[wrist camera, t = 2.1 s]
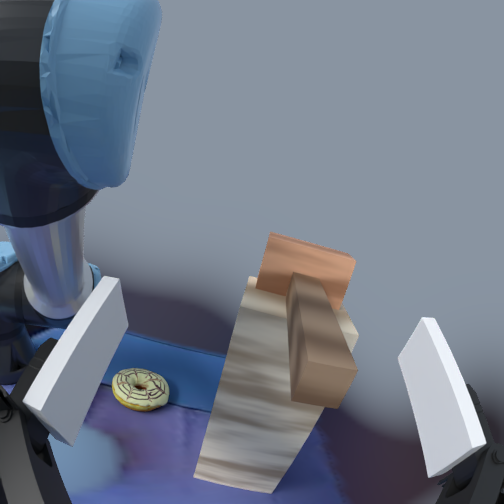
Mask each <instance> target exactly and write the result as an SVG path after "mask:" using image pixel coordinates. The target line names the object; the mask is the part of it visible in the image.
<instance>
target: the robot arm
mask: <svg viewBox="0 0 504 504" xmlns="http://www.w3.org/2000/svg"><path fill="white" fill-rule="evenodd" d="M161 20H162V11H161V7H160V4H159V2H158V0H0V225H2V226H4V228H5V231H6V233H7V235H8V238H9V240H10V242H0V384H13V383H17V384H16V385H15V387H14V389H13V390H12V392H11V394H10V395H9V394H8V393H7V392H6V390H5V389H4V388H3V387H2V386H1V385H0V504H72V503H71V500H70V498H69V496H68V493H67V491H66V488H65V486H64V483H63V481H62V478H61V476H60V473H59V470H58V467H57V464H56V461H55V458H54V455H53V452H52V449H51V446H50V442H49V441H48V439H47V438H48V435H49V433H50V434H51V435H52V436H53V437H54V438H55V439H57V440H59V441H61V442H63V443H65V444H67V445H70V446H72V447H73V445H74V442H75V440H76V437H77V435H78V433H79V430H80V428H81V425H82V423H83V421H84V418H85V416H86V414H87V411H88V409H89V407H90V405H91V402H92V400H93V398H94V396H95V393H96V391H97V389H98V387H99V385H100V383H101V380H102V378H103V376H104V374H105V372H106V370H107V368H108V366H109V364H110V362H111V359H112V357H113V355H114V353H115V351H116V349H117V347H118V345H119V343H120V341H121V339H122V337H123V335H124V333H125V331H126V330H127V328H128V321H127V316H126V311H125V306H124V301H123V296H122V291H121V284H120V279H118V278H113V277H107V276H104V277H103V278H102V279H101V274H100V269H99V268H98V267H97V266H96V265H92V264H89V263H87V261H86V260H85V259H84V257H83V250H84V223H85V208H86V205H88V204H89V203H90V202H91V200H93V198H94V197H95V196H96V195H97V193H98V192H99V190H101V189H103V188H105V187H118V186H120V185H121V184H122V183H123V182H125V180H126V178H127V177H128V175H129V170H130V166H131V159H132V155H133V150H134V144H135V139H136V134H137V128H138V123H139V117H140V112H141V107H142V102H143V97H144V92H145V89H146V84H147V80H148V75H149V71H150V67H151V63H152V59H153V55H154V51H155V46H156V42H157V38H158V34H159V30H160V25H161ZM25 324H31V325H38V326H45V327H53V328H61V329H66V330H65V332H64V333H63V335H62V336H61V338H60V339H59V341H58V340H56V339H53V338H49V339H48V340H47V341H46V342H44V343H43V344H42V345H40V347H39V348H38V350H37V351H35V347H34V345H33V343H32V340H31V338H30V336H29V334H28V332H27V330H26V327H25ZM398 361H399V364H400V367H401V370H402V374H403V377H404V380H405V384H406V387H407V390H408V394H409V397H410V401H411V404H412V408H413V412H414V415H415V420H416V423H417V427H418V432H419V436H420V440H421V444H422V448H423V453H424V458H425V462H426V468H427V473H428V477H429V478H430V477H434V476H437V475H441V474H444V473H445V472H447V471H448V470H450V469H451V468H452V471H453V473H451V474H450V475H448V476H446V477H445V478H443V479H442V480H440V481H439V483H438V485H440V484H442V483H444V482H445V481H446V483H445V484H444V485H442V487H443V490H442V492H441V494H440V496H439V498H438V500H437V502H436V504H504V490H503V489H504V446H502V445H501V444H498V443H496V444H495V443H494V440H493V438H492V435H491V432H490V429H489V426H488V423H487V420H486V418H485V415H484V413H483V409H482V407H481V405H480V402H479V399H478V397H477V394H476V392H475V391H474V390H473V388H472V387H471V386H470V385H469V384H466V385H465V382H464V380H463V378H462V375H461V373H460V371H459V368H458V366H457V364H456V362H455V359H454V357H453V355H452V353H451V351H450V348H449V346H448V345H447V342H446V340H445V338H444V336H443V334H442V332H441V330H440V328H439V326H438V324H437V322H436V320H435V318H423V317H422V318H421V320H420V322H419V324H418V325H417V327H416V329H415V330H414V332H413V334H412V335H411V337H410V339H409V340H408V342H407V344H406V346H405V347H404V348H403V350H402V352H401V353H400V355H399V357H398Z"/></svg>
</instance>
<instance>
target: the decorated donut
mask: <svg viewBox="0 0 504 504" xmlns="http://www.w3.org/2000/svg"><path fill="white" fill-rule="evenodd" d="M112 389H113V393H114V395H115V397H116V399H117V400H118V401H119V402H120V403H121V404H122V405H124V406H125V407H127V408H130V409H132V410H136V411H151V410H153V409H155V408H158V407H160V406H163V405H165V404H166V403H167V401H168V397H169V387H168V384H167V382H166V381H165V379H164V378H163V377H162V376H160V375H158V374H156V373H154V372H151V371H148V370H146V369H138V368H131V369H125V370H122V371H120V372H119V373H117V374H116V375H115V376H114V378H113V381H112ZM138 389H142V390H138Z"/></svg>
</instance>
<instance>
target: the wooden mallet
mask: <svg viewBox="0 0 504 504" xmlns="http://www.w3.org/2000/svg"><path fill="white" fill-rule="evenodd" d="M355 264H356V260H354V259H353V258H352V257H351V256H350V255H349V254H348V253H344V252H341V251H337V250H334V249H330V248H327V247H324V246H320V245H317V244H313V243H309V242H306V241H302V240H299V239H295V238H292V237H288V236H284V235H281V234H277V233H273V232H270V235H269V239H268V242H267V246H266V249H265V253H264V257H263V260H262V264H261V267H260V271H259V275H258V278H257V283H256V287H255V288H256V289H259V290H263V291H267V292H270V293H274V294H278V295H282V296H285V297H286V313H287V330H288V348H289V367H290V390H291V401H294V402H299V403H304V404H310V405H316V406H322V407H329V408H335V409H338V407H339V405H340V404H341V402H342V400H343V398H344V396H345V395H346V393H347V391H348V389H349V387H350V385H351V383H352V381H353V379H354V377H355V375H356V373H357V371H358V369H357V367H356V365H355V362H354V359H353V357H352V355H351V352H350V350H349V347H348V345H347V342H346V340H345V337H344V335H343V333H342V330H341V328H340V326H339V323H338V321H337V318H336V316H335V314H334V311H333V309H337V310H339V309H340V306H341V304H342V301H343V298H344V295H345V292H346V290H347V287H348V284H349V281H350V278H351V276H352V273H353V270H354V267H355Z"/></svg>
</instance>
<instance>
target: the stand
mask: <svg viewBox="0 0 504 504" xmlns="http://www.w3.org/2000/svg"><path fill="white" fill-rule="evenodd" d="M256 283H257V278H255V277H252V276H250V277H249V280H248V283H247V286H246V289H245V292H244V295H243V299H242V302H241V305H240V308H239V312H238V316H237V319H236V323H235V327H234V331H233V334H232V338H231V342H230V345H229V349H228V353H227V356H226V360H225V364H224V367H223V371H222V375H221V378H220V382H219V386H218V390H217V393H216V397H215V401H214V404H213V408H212V412H211V415H210V419H209V423H208V426H207V430H206V434H205V437H204V441H203V444H202V448H201V452H200V455H199V459H198V463H197V466H196V470H195V474H194V477H195V478H198V479H202V480H206V481H210V482H214V483H218V484H222V485H226V486H231V487H236V488H241V489H246V490H252V491H257V492H264V493H270V494H272V492H273V491H274V489H275V488H276V486H277V485H278V483H279V482H280V480H281V479H282V478H283V476H284V475H285V473H286V471H287V470H288V468H289V467H290V465H291V464H292V462H293V461H294V459H295V457H296V456H297V454H298V453H299V451H300V449H301V448H302V446H303V444H304V443H305V441H306V439H307V438H308V436H309V434H310V433H311V431H312V429H313V427H314V426H315V424H316V422H317V420H318V418H319V417H320V415H321V413H322V411H323V409H324V407H322V406H316V405H310V404H304V403H299V402H294V401H291V390H290V367H289V348H288V330H287V313H286V297H285V296H282V295H278V294H274V293H270V292H267V291H263V290H259V289H256V288H255V287H256ZM333 311H334V314H335V316H336V318H337V321H338V323H339V326H340V328H341V330H342V333H343V335H344V337H345V340H346V342H347V345H348V347H349V350H350V352H352V350H353V348H354V346H355V344H356V341H357V339H358V337H359V334H358V333H357V331H356V329H355V327H354V325H353V323H352V321H351V319H350V317H349V315H348V313H347V311H346V310H345V308H344V306H343V304H341V306H340V309H339V310H337V309H333Z"/></svg>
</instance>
